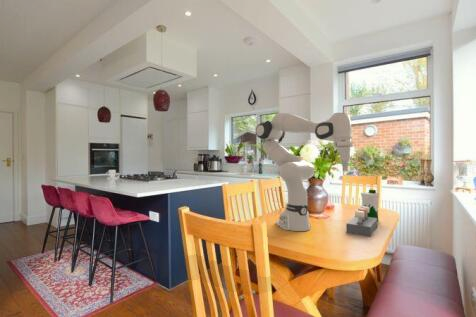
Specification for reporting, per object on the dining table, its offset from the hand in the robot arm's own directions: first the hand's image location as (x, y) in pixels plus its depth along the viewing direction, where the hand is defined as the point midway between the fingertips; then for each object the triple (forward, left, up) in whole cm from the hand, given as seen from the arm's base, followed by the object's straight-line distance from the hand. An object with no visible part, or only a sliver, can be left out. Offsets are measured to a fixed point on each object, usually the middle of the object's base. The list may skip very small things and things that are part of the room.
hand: (345, 171), depth 127 cm
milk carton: (-23, +46, -35) cm, 62 cm away
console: (-10, +24, -35) cm, 43 cm away
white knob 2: (-14, +31, -30) cm, 45 cm away
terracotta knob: (-10, +24, -30) cm, 40 cm away
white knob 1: (-6, +17, -30) cm, 35 cm away
